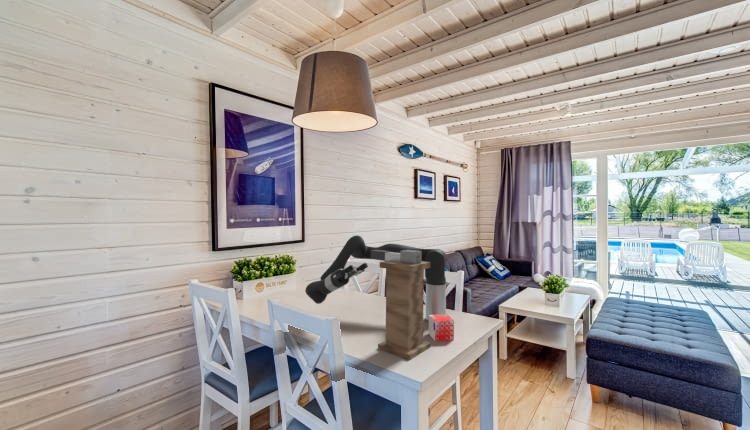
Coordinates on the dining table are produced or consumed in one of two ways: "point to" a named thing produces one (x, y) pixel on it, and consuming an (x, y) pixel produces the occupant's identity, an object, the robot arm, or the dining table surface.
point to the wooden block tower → (404, 309)
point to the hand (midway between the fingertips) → (359, 265)
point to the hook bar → (398, 256)
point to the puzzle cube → (441, 327)
